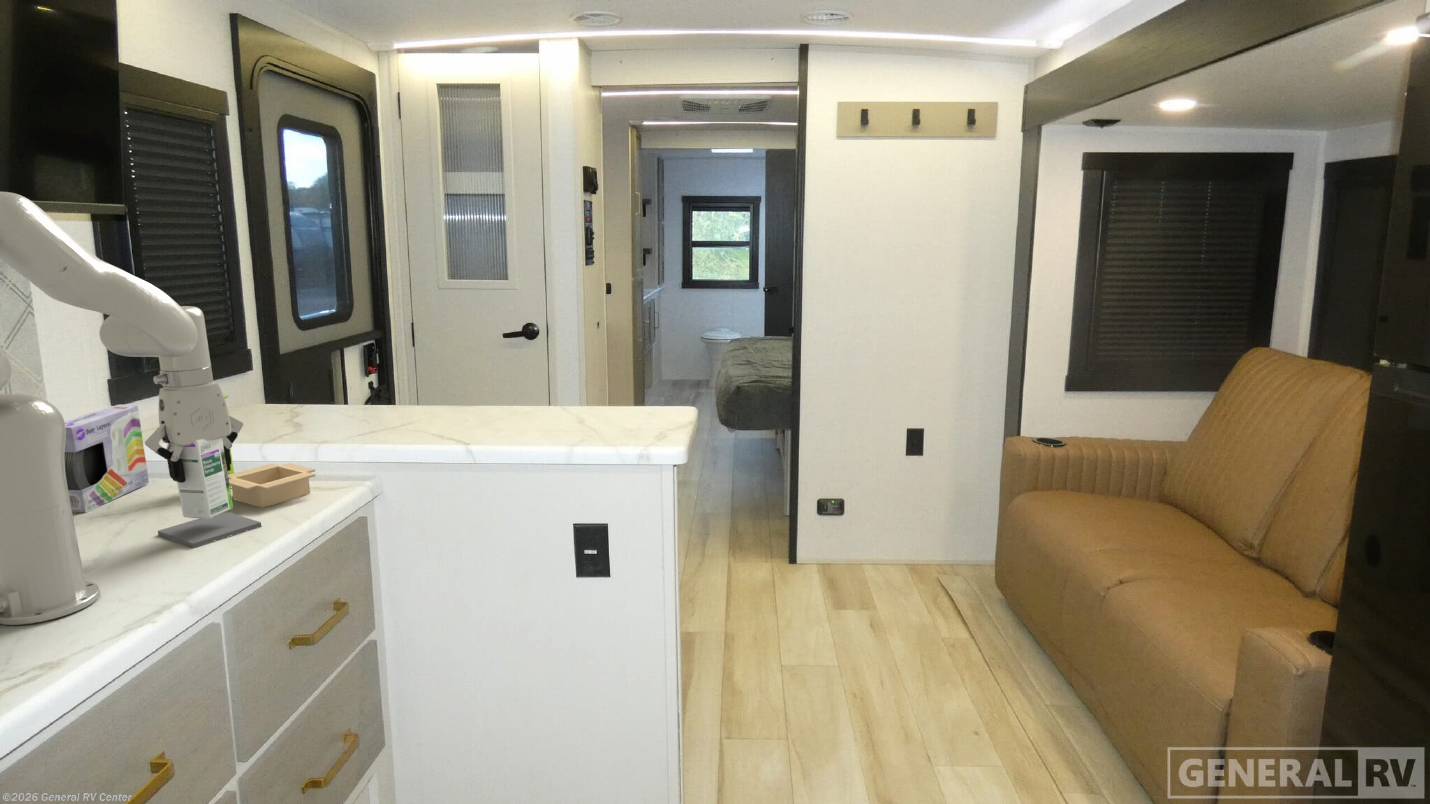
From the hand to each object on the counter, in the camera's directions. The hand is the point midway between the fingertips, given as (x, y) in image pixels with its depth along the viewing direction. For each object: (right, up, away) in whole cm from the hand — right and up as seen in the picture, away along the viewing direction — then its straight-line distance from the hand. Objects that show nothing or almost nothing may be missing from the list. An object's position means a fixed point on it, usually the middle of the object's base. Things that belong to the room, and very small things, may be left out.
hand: (202, 474), depth 152 cm
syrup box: (0, -7, +2) cm, 7 cm away
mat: (0, -10, +2) cm, 11 cm away
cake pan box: (-32, -7, +21) cm, 39 cm away
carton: (+2, -6, +21) cm, 22 cm away
